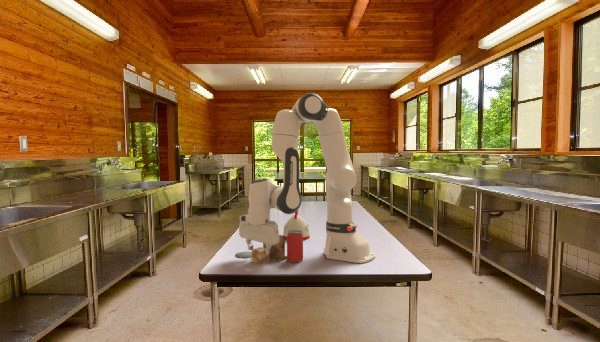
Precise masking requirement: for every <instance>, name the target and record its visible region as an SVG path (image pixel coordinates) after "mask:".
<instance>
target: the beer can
mask: <svg viewBox="0 0 600 342" xmlns="http://www.w3.org/2000/svg"><path fill="white" fill-rule="evenodd" d="M286 256H287V259H286V261H288V262H290V263H294V264H295V263H301V262H302V261H303V260H304V240H303V235H302V231H299V230H291V231H289V232H288V235H287V240H286Z"/></svg>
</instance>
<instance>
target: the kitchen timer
mask: <svg viewBox="0 0 600 342" xmlns="http://www.w3.org/2000/svg"><path fill="white" fill-rule="evenodd" d="M291 230H299V231H302V235H303V241H306V240H309V239H310V238H311V237H310V235H311V234H310V227H309V224H308V223H307V222H306V220H305V219H304V218H303V217H302V216H301V215H299V209H298V210H297V211H296V212H295V213H294V215H293V216H291V217H290V218H288V220H287V221H286V223H285V224H284V227H283V234H282V235H283V236H285V240H286V241H287V235H288V232H289V231H291Z"/></svg>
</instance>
